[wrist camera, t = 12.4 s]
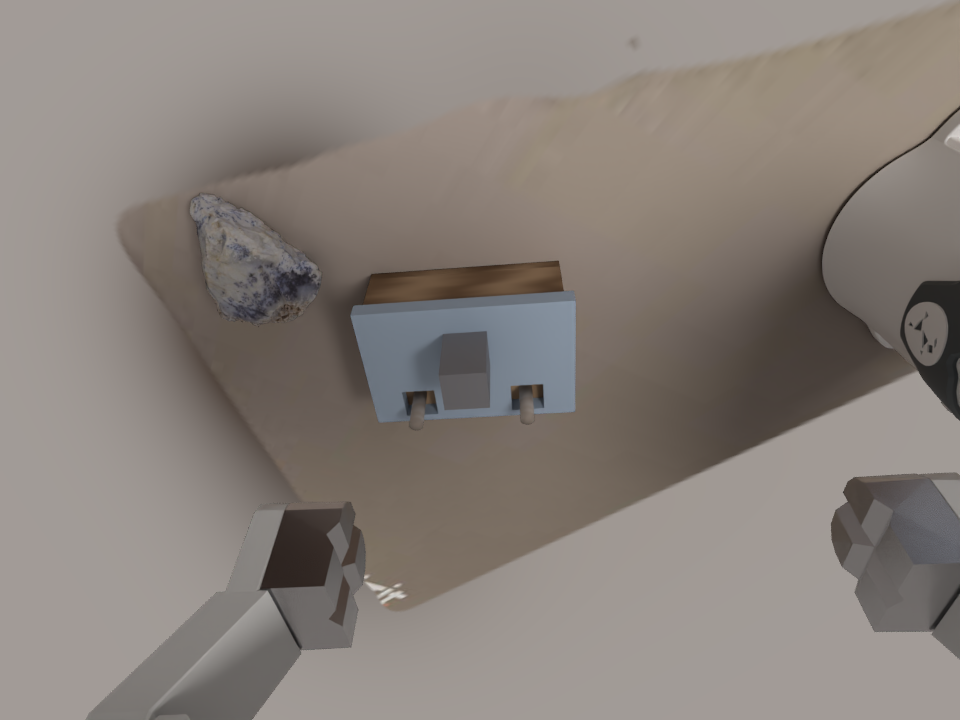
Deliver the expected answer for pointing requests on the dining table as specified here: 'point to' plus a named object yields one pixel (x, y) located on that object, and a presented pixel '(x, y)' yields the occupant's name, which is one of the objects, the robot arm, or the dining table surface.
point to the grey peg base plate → (469, 354)
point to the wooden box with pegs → (466, 286)
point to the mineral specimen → (251, 265)
